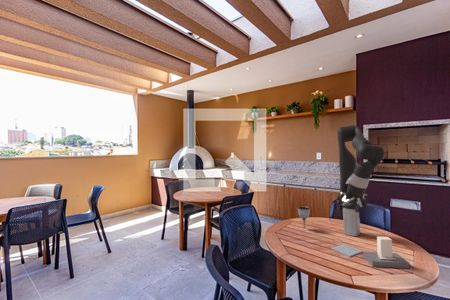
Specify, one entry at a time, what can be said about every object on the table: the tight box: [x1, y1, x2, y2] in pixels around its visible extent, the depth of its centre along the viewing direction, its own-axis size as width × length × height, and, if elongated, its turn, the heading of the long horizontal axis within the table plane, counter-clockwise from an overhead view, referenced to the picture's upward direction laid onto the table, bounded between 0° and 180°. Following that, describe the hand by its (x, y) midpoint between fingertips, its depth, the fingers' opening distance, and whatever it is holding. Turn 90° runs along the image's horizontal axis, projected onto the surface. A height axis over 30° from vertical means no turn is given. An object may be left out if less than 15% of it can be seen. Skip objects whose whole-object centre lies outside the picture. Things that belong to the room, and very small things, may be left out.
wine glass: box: [297, 206, 311, 228], centre depth 157 cm, size 8×8×15 cm
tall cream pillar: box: [376, 236, 393, 258], centre depth 109 cm, size 5×4×12 cm
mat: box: [330, 243, 364, 258], centre depth 122 cm, size 11×11×1 cm
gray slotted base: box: [362, 251, 411, 269], centre depth 109 cm, size 16×10×3 cm, turn 81°
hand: (348, 210), depth 112 cm, fingers open, 8 cm apart
